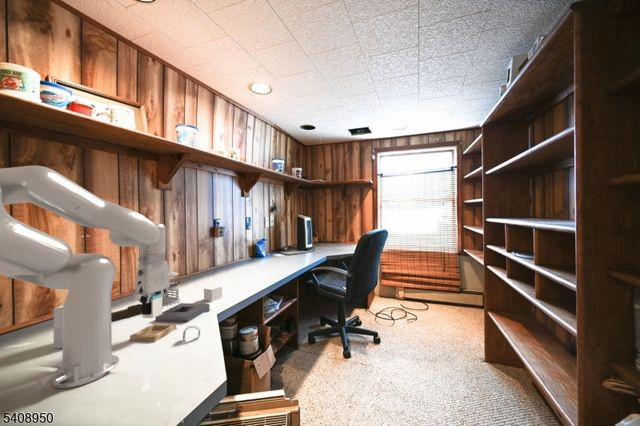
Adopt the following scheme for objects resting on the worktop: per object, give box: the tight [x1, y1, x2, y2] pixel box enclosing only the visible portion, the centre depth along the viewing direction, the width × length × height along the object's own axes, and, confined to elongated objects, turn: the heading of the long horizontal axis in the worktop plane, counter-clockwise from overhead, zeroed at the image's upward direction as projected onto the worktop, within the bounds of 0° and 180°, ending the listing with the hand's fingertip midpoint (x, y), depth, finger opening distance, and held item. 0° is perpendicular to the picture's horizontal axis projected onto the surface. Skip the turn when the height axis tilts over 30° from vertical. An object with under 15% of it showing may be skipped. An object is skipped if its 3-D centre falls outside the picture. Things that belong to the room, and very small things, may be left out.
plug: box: [141, 293, 163, 319], centre depth 84 cm, size 4×4×7 cm
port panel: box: [154, 302, 211, 323], centre depth 101 cm, size 14×14×3 cm
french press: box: [163, 251, 182, 307], centre depth 120 cm, size 10×12×25 cm
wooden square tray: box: [128, 323, 179, 343], centre depth 84 cm, size 10×10×2 cm
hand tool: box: [111, 303, 142, 322], centre depth 100 cm, size 19×4×5 cm, turn 135°
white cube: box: [203, 285, 223, 302], centre depth 123 cm, size 6×6×6 cm
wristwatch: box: [182, 325, 201, 342], centre depth 80 cm, size 3×5×5 cm, turn 111°
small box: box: [53, 304, 63, 349], centre depth 82 cm, size 8×6×13 cm
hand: (152, 311), depth 84 cm, fingers closed on plug, 3 cm apart
